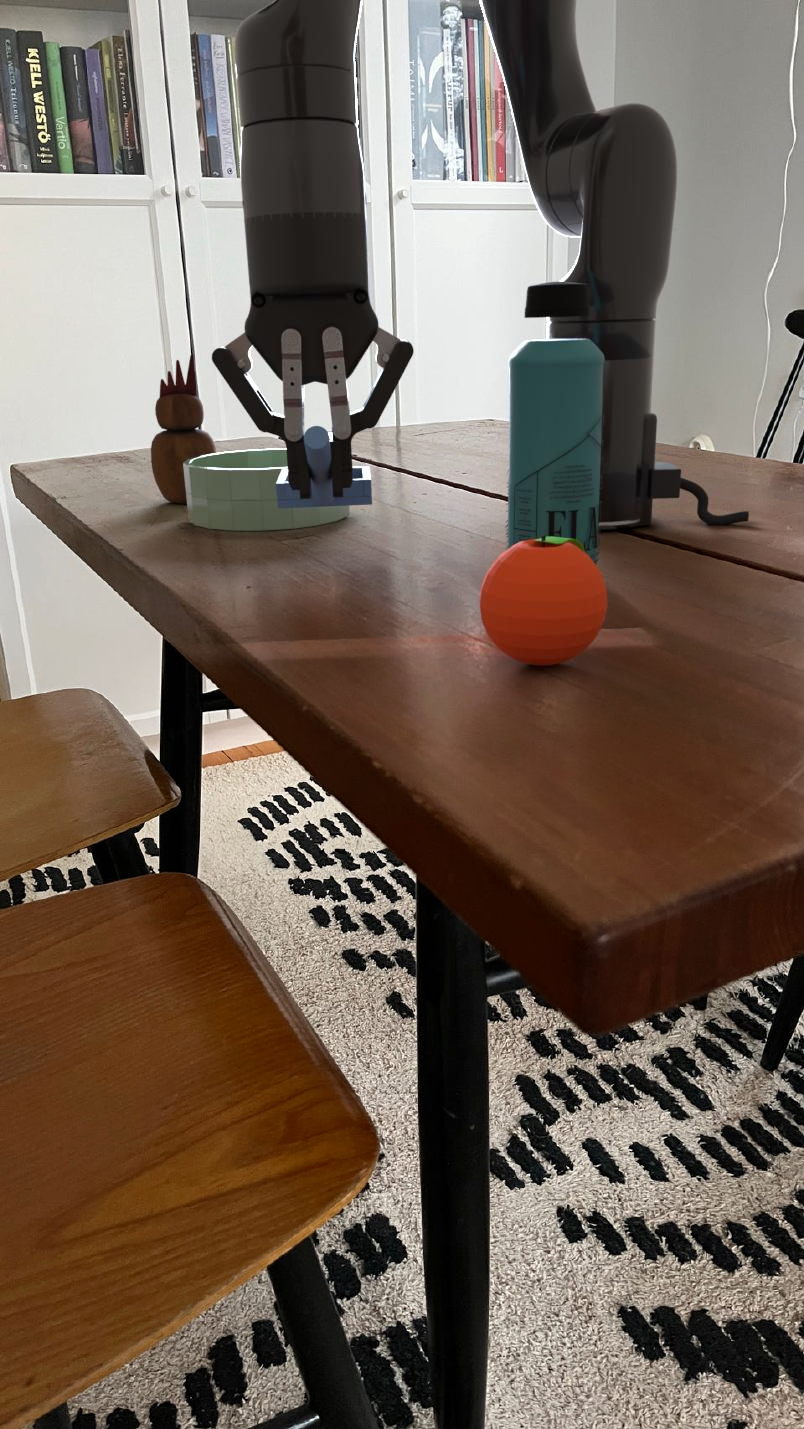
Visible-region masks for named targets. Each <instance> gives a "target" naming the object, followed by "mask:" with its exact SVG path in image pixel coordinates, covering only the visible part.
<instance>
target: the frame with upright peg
mask: <svg viewBox="0 0 804 1429" xmlns="http://www.w3.org/2000/svg"><path fill="white" fill-rule="evenodd" d="M304 432H305V434H304V443H305V449H306V455H307V461H308V465H309V471H310V478H311V498H310V499H300V490H292V489H291V487H290V484H289V479H288V470H282V471H281V473H280V475H279V478H278V480H277V482H276V492H277V505H278V508H302V507H326V506H349V507H350V506H367V505H368V506H371V505H373V492H372V491H373V490H372V489H373V488H372V476H371V469H370V468H371V467H370V466H369V465H366V466H352V469H353V482H352V485H351V488H343V493H344V495H343V497H334V498H333V488H332V471H331V448H330V439H329V434H328V433H329V432H328V430H327V429H326V428H324V427H323V426H320V425H313V426H310V427H309V428H307V429H306V430H305V431H304Z"/></svg>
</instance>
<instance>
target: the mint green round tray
mask: <svg viewBox="0 0 804 1429" xmlns="http://www.w3.org/2000/svg"><path fill="white" fill-rule="evenodd" d="M183 468H184V478H185V488H186V498H187V504H186V506H187V516H188V521H189V522H190V523H191V524H192V525H193V526H195V527H200V528H205V529H209V530H218V531H231V532H266V531H267V532H269V531H281V530H282V531H283V530H295V529H303V528H310V527H311V528H312V527H317V526H322V525H326V524H331V523H335V522H339V521H341V520H342V519H345V518H347V517H349V516H350V505H349V506H326V507H302V508H278V505H277V492H276V482H277V480H278V478H279V475H280V473H281V471H282V470H288V466H287V452H286V448H261V449H260V448H258V449H245V450H244V449H243V450H234V451H233V450H232V451H223V452H216V453H215V454H208V455H202V456H198V457H194V458H191V459H187V460H186V461H185V462H184V463H183Z"/></svg>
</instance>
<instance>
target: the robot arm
mask: <svg viewBox="0 0 804 1429" xmlns="http://www.w3.org/2000/svg"><path fill="white" fill-rule="evenodd" d="M479 4H480V7H481V10H482V13H483V17H484V20H485V23H486V26H487V30H488V34H489V36H490V40H491V43H492V46H493V49H494V52H495V54H496V58H497V62H498V65H499V69H500V72H501V74H502V78H503V82H504V86H505V90H506V93H507V98H508V102H509V106H510V109H511V115H512V118H513V122H514V127H515V131H516V135H517V136H516V137H517V141H518V145H519V149H520V153H521V159H522V162H523V166H524V171H525V175H526V178H527V182H528V185H529V189H530V193H531V195H532V198H533V201H534V204H535V206H536V208H537V210H538V212H539V214H540V216H541V217H542V219H543V221H544V222H545V223H546V224H547V225H548V226H549V227H550V228H551V229H552V230H553V231H555V232H556V233H557V234H559V235H562V236H564V237H569V238H576V239H578V238H579V239H580V242H579V252H578V256H577V258H576V260H575V263H574V265H573V266H572V268H571V269H570V270H569V272H568V273H567V274H566V275H565V276H564V277H563V278H561V280H560V281H562V282H574V283H581V284H587V287H588V303H589V316H575V317H546V322H547V323H546V338H545V339H590V340H591V341H592V342H593V343H594V344H595V345H596V346H597V347H598V348H599V349H600V351H601V352H602V353H603V355H604V364H603V387H602V391H603V393H602V413H603V414H605V415H604V427H603V422H602V430H601V437H602V438H601V440H602V439H603V441H604V442H603V443H602V441H601V448H602V449H601V459H600V462H601V463H600V475H602V476H600V480H601V482H602V483H601V482H600V487H602V489H600V488H599V493H600V494H599V505H600V504H601V528H600V506H599V519H598V520H599V521H598V528H599V530H598V531H611V530H623V529H629V528H634V527H640V526H652V520H653V519H652V517H653V503H654V502H653V501H654V500H659V499H679V498H680V497H681V490H682V491H686V492H688V493H690V494H692V495H693V496H694V497H695V498H696V499H697V505H696V514H697V516H698V518H699V519H700V521H702V522H704V524H707V525H709V526H728V525H732V524H737V523H743V522H744V523H745V522H746V523H747V522H749V514H750V512H749V510H742V511H735V512H732V513H731V512H730V513H727V514H720V515H717V514H713V513H711V512H709V509H708V508H709V495H708V493H707V492H706V491H705V490H704V488H703V487H702V486H701V485H699V484H698V483H696V482H694V481H692V480H689V479H687V478H684V477H682V469H681V468H679V467H678V466H675V465H673V464H671V463H669V462H667V461H656V449H657V448H656V447H657V432H658V431H657V429H658V417H657V415H656V413H653V412H652V393H653V379H654V378H653V376H654V360H655V359H654V357H655V341H656V340H655V338H656V323H657V322H656V320H655V319H656V318H657V307H658V301H659V298H660V296H661V293H662V291H663V289H664V286H665V284H666V281H667V276H668V272H669V267H670V266H669V265H670V256H671V247H672V237H673V228H674V227H673V226H674V219H675V211H676V210H675V209H676V201H677V200H676V198H677V190H678V189H677V187H678V160H677V158H678V157H677V150H676V146H675V140H674V137H673V134H672V131H671V129H670V127H669V124H668V123H667V121H666V119H665V118H664V117H663V116H662V114H661V113H660V112H659V111H658V110H656V109H655V108H653V107H651V106H649V105H647V104H644V103H639V102H637V103H635V102H633V103H631V102H630V103H623V104H618V105H615V106H611V107H607V108H604V109H599V110H597V108H596V106H595V105H594V101H593V99H592V96H591V93H590V90H589V87H588V83H587V80H586V76H585V72H584V69H583V66H582V61H581V57H580V53H579V47H578V40H577V29H576V28H577V26H576V13H577V12H576V11H577V0H479ZM362 6H363V0H274V1H272V2H271V3H269V4H268V5H265V6H264V7H262V8H260V9H258V10H257V11H255V12H253V13H252V14H250V15H249V16H248V17H247V16H246V18H245V19H243V20H242V22H241V23H240V24H239V26H238V27H237V29H236V34H235V38H234V39H235V40H234V58H235V59H234V60H235V62H234V63H235V74H236V75H235V76H236V83H237V96H238V108H239V121H240V130H241V131H240V142H241V143H240V162H239V163H240V164H239V165H240V166H239V169H240V170H239V172H240V174H239V175H240V189H241V190H240V191H241V199H242V200H241V203H242V211H243V213H242V214H243V224H244V225H243V226H244V237H245V249H246V262H247V274H248V287H249V299H250V300H249V301H250V306H249V310H248V314H247V317H246V319H245V321H244V328H243V329H244V332H242V333H241V334H240V335H239V336H237V337H236V338H234V339H233V340H232V341H230V342H229V343H228V344H226V345H224V346H221V347H218V348H215V349H214V350H213V352H212V353H211V361H212V363H213V365H214V366H215V368H216V369H217V371H218V372H219V374H220V376H222V378H223V379H224V381H225V382H226V384H227V385H228V387H229V388H230V390H231V391H232V392H233V394H234V395H235V397H236V398H237V400H238V401H239V403H240V404H241V406H242V407H243V409H244V410H245V412H246V413H247V414H248V416H249V418H250V419H251V421H252V422H253V424H254V425H255V427H256V428H257V429H258V430H259V431H260V432H261V433H268V434H271V435H274V436H277V437H279V438H280V439H282V440H283V441H284V444H285V449H286V452H287V466H288V479H289V484H290V487H291V489H292V490H300V499H310V498H311V478H310V471H309V465H308V461H307V455H306V449H305V443H304V434H305V432H306V430H305V429H306V427H305V386H306V385H308V384H312V383H319V384H324V385H327V394H328V400H329V407H330V410H329V411H330V418H331V432H332V438H330V448H331V471H332V488H333V498H334V497H343V495H344V493H343V488H351V485H352V482H353V469H352V467H353V455H352V453H353V451H352V440H353V438H354V437H355V435H357V434H358V433H361V432H362V431H365V430H367V429H373V428H375V427H376V426H377V424H378V422H379V421H380V419H381V417H382V415H383V414H384V411H385V409H386V408H387V406H388V403H389V402H390V400H391V398H392V395H393V393H394V392H395V390H396V389H397V387H398V384H399V382H400V380H401V379H402V376H403V374H404V372H405V371H406V369H407V367H408V365H409V364H410V361H411V359H412V358H413V355H414V352H415V351H414V350H415V349H414V346H413V344H412V343H411V341H409V340H406V339H400V338H398V337H397V336H395V335H393V334H392V333H390V332H388V331H387V330H385V329H383V328H381V327H380V322H379V318H378V315H377V314H376V312H375V310H374V308H373V307H372V303H371V296H370V277H369V276H370V274H369V272H370V271H369V254H368V253H369V252H368V251H369V250H368V230H367V229H368V228H367V194H366V184H365V171H364V169H365V168H364V161H363V155H362V148H361V143H360V136H359V128H358V125H359V120H358V118H359V117H358V98H357V97H358V96H357V77H356V74H357V73H356V61H355V60H356V59H355V57H356V56H355V53H356V45H357V44H356V43H357V36H358V29H359V24H360V18H361V13H362ZM373 342H374V343H375V345H376V349H377V350H376V354H375V361H376V363H377V365H378V367H381V370H380V371H379V373H378V375H377V377H376V380H375V381H374V383H373V386H372V387H371V390H370V392H369V393H368V395H367V397H366V399H365V401H364V402H363V405H362V407H361V408H359V409H357V410H354V411H352V412H351V409H350V402H349V390H348V381H347V380H348V379H349V378H350V377H351V376H352V375H353V373H354V372H355V370H356V369H357V367H358V365H359V364H360V362H361V361H362V359H363V357H364V356H365V354H366V353H367V351H368V349H369V348H370V346H371V345H372V343H373ZM252 348H254V349H255V351H256V352H257V353H258V354H259V356H260V357H261V358H262V359H263V361H264V362H265V363H266V364H267V366H268V367H269V368H270V370H271V371H272V372H273V374H274V375H275V376H276V377H277V378H278V379H279V380H280V381H281V382H282V400H283V414H281V413H277V412H275V411H274V410H273V408H272V407H271V405H270V404H269V402H268V401H267V399H266V398H265V396H264V395H263V393H262V392H261V391H260V389H259V387H258V386H257V385H256V382H254V380H253V379H252V377H251V376H250V374H249V372H251V370H252V368H253V365H254V362H253V359H252V357H251V349H252ZM603 394H604V395H603ZM604 398H605V399H604ZM604 407H605V408H604ZM603 411H604V412H603ZM603 430H604V431H603ZM603 436H604V437H603ZM602 444H603V445H602ZM602 446H603V447H602ZM602 450H603V452H602ZM602 458H603V459H602ZM601 460H602V461H601ZM601 478H602V479H601ZM601 490H602V492H601ZM600 501H601V503H600Z"/></svg>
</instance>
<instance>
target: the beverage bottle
mask: <svg viewBox="0 0 804 1429" xmlns="http://www.w3.org/2000/svg"><path fill="white" fill-rule="evenodd" d="M525 299H526V300H525V307H524V319H534V318H535V319H537V318H538V319H539V318H540V319H541V318H547V317H575V316H589V303H588V287H587V284H581V283H574V282H562V281H561V280H559V281H549V282H543V283H542V282H541V283H537V284H532V285H529V286H527V288H526V296H525ZM507 364H508V370H509V371H508V383H509V384H508V470H507V473H506V474H508V475H506V476H505V478H507V477H508V478H507V479H508V481H507V482H506V485H507V492H506V495H507V497H505V500H506V499H507V500H506V502H507V503H505V505H506V506H507V510H506V509H505V514H506V513H507V520H505V523H506V524H505V528H506V529H505V532H507V533H505V536H506V538H507V541H505V551H506V550H508V549H509V548H510V547H512V546H513V545H515V544H517V543H519V542H521V541H526V540H531V539H540V538H541V536H543V535H544V536H546V537H561V538H569V539H577V540H578V541H579V542H580V543H581V544H582V545H583V547H584V550H585V553H586V554H587V555H589V557H590V558H591V559H592V561H593V562H594V563H595V565H596V566H597V563H598V561H599V560H600V558H598V557H600V553H601V551H600V548H599V547H600V545H601V536H599V531H600V530H599V528H598V521H599V520H598V519H599V506H600V528H601V504H600V505H599V494H600V493H599V488H600V489H602V487H600V482H601V480H600V476H602V475H600V463H601V462H600V459H601V449H602V448H601V441H602V443H603V442H604V441H603V439H602V440H601V438H602V437H601V430H602V422H603V427H604V415H605V414H603V413H602V393H603V391H602V387H603V364H604V355H603V353H602V352H601V351H600V349H599V348H598V347H597V346H596V345H595V344H594V343H593V342H592V341H591V340H590V339H546V338H543V339H542V338H541V339H527V340H524V341H522V343H521V344H520V345H519V346H518V347H517V348H516V349H515V350H514V351H513V352H512V353H511V354H510V356H509V357H508V362H507ZM603 395H604V394H603ZM604 399H605V398H604ZM604 408H605V407H604ZM603 412H604V411H603ZM603 431H604V430H603ZM603 437H604V436H603ZM602 445H603V444H602ZM602 447H603V446H602ZM602 452H603V450H602ZM602 459H603V458H602ZM601 461H602V460H601ZM601 479H602V478H601ZM601 483H602V482H601ZM601 492H602V490H601ZM600 503H601V501H600ZM506 544H507V546H506Z"/></svg>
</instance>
